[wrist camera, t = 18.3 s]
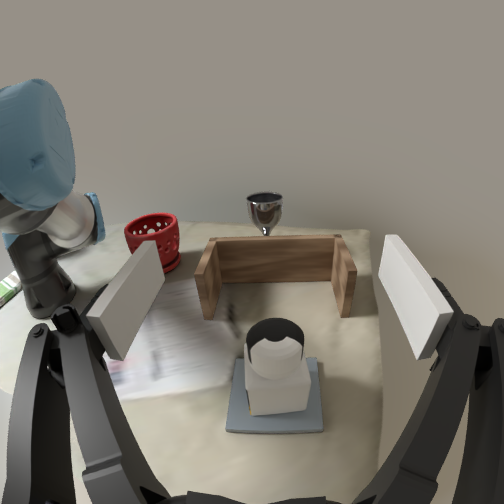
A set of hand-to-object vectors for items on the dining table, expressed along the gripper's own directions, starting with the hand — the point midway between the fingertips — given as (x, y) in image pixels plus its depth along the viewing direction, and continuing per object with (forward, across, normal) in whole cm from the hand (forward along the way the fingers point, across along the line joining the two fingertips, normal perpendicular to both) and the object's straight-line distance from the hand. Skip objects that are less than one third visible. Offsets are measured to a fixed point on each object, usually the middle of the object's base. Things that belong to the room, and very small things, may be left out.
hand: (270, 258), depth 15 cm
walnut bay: (+29, 0, -26) cm, 39 cm away
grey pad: (+7, 0, -26) cm, 27 cm away
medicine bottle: (+7, 0, -25) cm, 26 cm away
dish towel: (+27, -83, -27) cm, 91 cm away
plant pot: (+41, -29, -26) cm, 56 cm away
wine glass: (+45, -2, -26) cm, 52 cm away
